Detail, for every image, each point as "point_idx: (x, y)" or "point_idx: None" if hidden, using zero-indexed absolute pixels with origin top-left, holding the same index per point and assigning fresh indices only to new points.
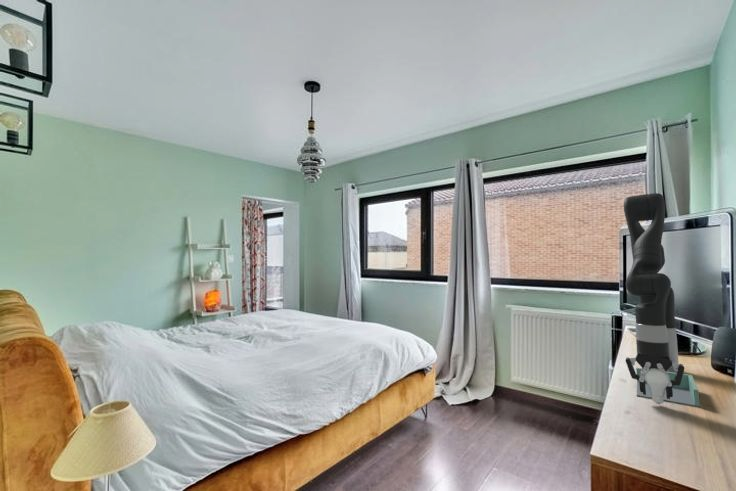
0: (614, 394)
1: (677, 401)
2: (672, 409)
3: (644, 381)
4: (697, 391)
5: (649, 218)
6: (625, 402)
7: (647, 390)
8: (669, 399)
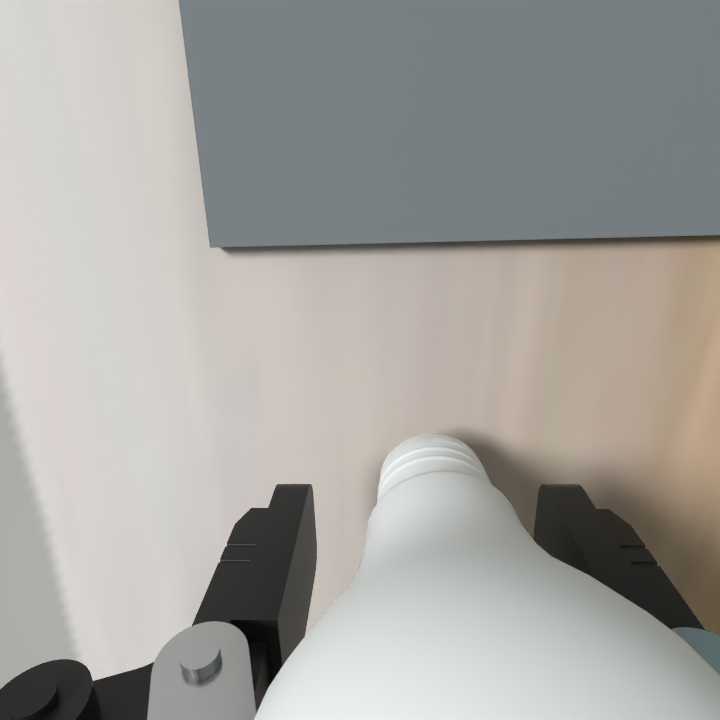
0: (9, 338)
1: (648, 210)
2: (542, 470)
3: (272, 660)
4: None
5: None
6: (159, 522)
7: None
8: (567, 183)
